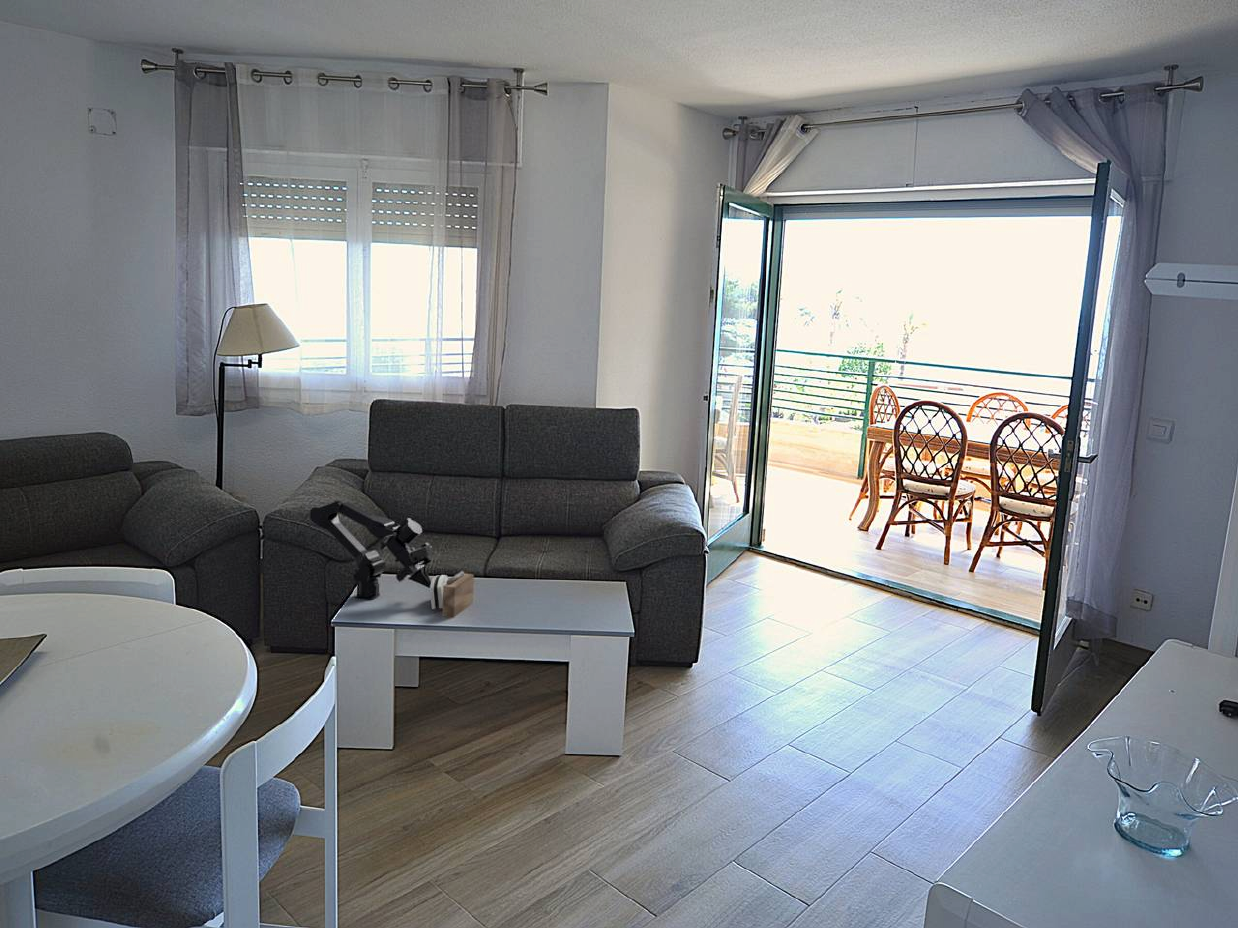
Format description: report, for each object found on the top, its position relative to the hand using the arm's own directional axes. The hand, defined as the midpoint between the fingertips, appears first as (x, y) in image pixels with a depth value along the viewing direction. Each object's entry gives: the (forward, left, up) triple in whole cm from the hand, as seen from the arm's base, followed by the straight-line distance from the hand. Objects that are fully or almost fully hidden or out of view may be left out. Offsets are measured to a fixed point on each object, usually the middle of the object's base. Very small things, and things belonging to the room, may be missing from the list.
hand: (431, 587), depth 313 cm
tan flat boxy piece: (+10, 0, -6) cm, 12 cm away
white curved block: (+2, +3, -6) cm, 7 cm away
